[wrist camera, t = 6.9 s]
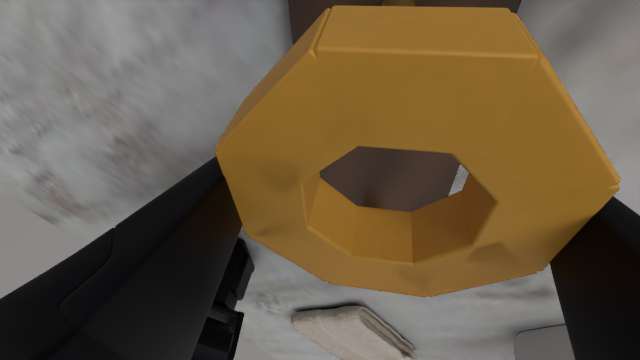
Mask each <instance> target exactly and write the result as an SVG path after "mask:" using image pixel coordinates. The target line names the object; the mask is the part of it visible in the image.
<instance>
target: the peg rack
mask: <svg viewBox="0 0 640 360" xmlns="http://www.w3.org/2000/svg"><path fill="white" fill-rule="evenodd" d="M288 2H289V11H290V21H291V31H292V40H293V45H294V44H295V43H296V42H297V41H298V40H299V39H300V38H301V36H302V35H303V34H304V33H305V32H306V31H307V30H308V29H309V28H310V26H311V25H312V24H313V23H314V22H315V21H316V20H317V19H318V18H319V16H320V15H321V14H322V13H323V12H324V11H325V10H326V9H328V8H329V9H332V7H333V6H335V5H339V6H411V7H483V8H508V9H509V10H510V11H511V13H515V14H516V13H517V11H518V8H519V5H520V3H521V0H288ZM459 165H460V163H459V162H458V161H457V160H456V159H455V157H454V156H453V155H452V154H450V153H437V152H425V151H412V150H400V149H387V148H375V147H362V146H357V147H356V148H354V149H353V150H351V151H350V152H348V153H347V154H345V155H344V156H342V157H341V158H339V159H338V160H336V161H335V162H333V163H331V164H330V165H328V166H327V167H325V168H324V169H322V170H321V171H320V178H322V179H323V180H324V181H325V182H327V183H328V184H329V185H331V186H332V187H333V188H335V189H336V190H337V191H338V192H340V193H341V194H342V195H344V196H345V197H346V198H347V199H349V200H350V201H351V202H353V203H354V204H355V205H357V206H362V207H372V208H381V209H390V210H399V211H409V212H413V211H415V210H418V209H420V208H422V207H425V206H427V205H429V204H432V203H434V202H436V201H439V200H441V199H443V198H446V197H448V195H449V192H450V189H451V187H452V184H453V181H454V179H455V176H456V173H457V171H458V168H459Z"/></svg>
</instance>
